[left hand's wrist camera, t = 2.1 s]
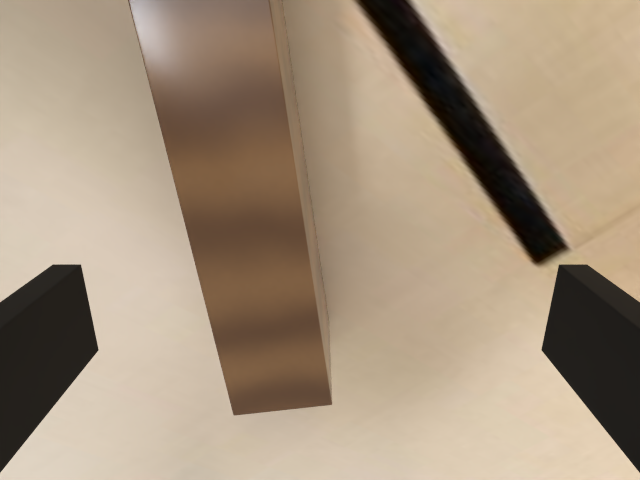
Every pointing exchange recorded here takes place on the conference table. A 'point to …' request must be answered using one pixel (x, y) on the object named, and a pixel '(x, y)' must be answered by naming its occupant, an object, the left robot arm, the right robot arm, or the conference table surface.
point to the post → (242, 192)
